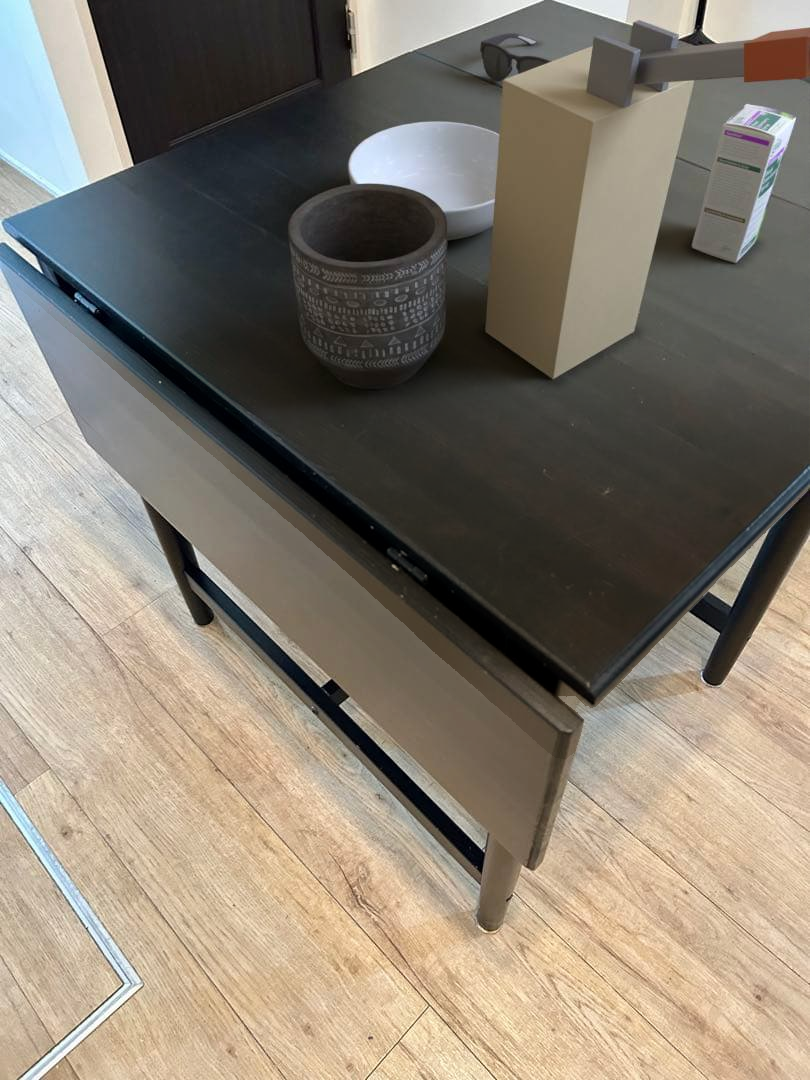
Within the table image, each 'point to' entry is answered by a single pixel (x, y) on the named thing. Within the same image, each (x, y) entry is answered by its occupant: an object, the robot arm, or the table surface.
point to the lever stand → (580, 198)
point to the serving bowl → (436, 169)
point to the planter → (370, 281)
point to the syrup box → (742, 181)
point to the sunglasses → (506, 57)
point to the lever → (731, 60)
